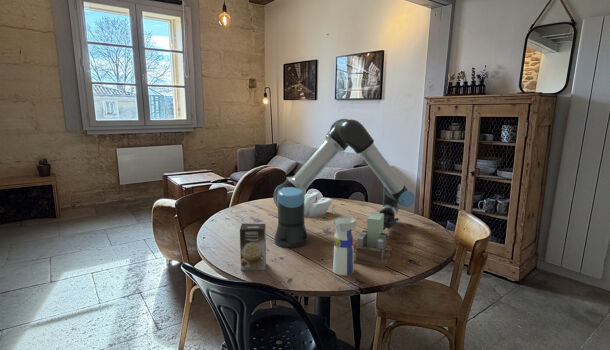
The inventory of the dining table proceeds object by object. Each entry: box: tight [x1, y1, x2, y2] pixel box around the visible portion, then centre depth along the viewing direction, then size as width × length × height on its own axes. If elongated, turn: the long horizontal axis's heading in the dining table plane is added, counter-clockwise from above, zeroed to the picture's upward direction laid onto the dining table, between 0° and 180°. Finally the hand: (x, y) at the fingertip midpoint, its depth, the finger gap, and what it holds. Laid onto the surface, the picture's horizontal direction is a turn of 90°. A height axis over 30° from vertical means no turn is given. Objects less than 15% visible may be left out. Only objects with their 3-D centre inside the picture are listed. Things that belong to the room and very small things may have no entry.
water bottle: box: [331, 204, 358, 276], centre depth 120 cm, size 8×9×25 cm
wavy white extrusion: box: [304, 191, 334, 218], centre depth 194 cm, size 35×16×10 cm, turn 60°
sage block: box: [366, 211, 384, 249], centre depth 137 cm, size 9×5×14 cm, turn 157°
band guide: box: [354, 230, 392, 269], centre depth 133 cm, size 15×13×9 cm
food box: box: [239, 223, 267, 271], centre depth 124 cm, size 9×6×16 cm
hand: (378, 230), depth 142 cm, fingers closed
